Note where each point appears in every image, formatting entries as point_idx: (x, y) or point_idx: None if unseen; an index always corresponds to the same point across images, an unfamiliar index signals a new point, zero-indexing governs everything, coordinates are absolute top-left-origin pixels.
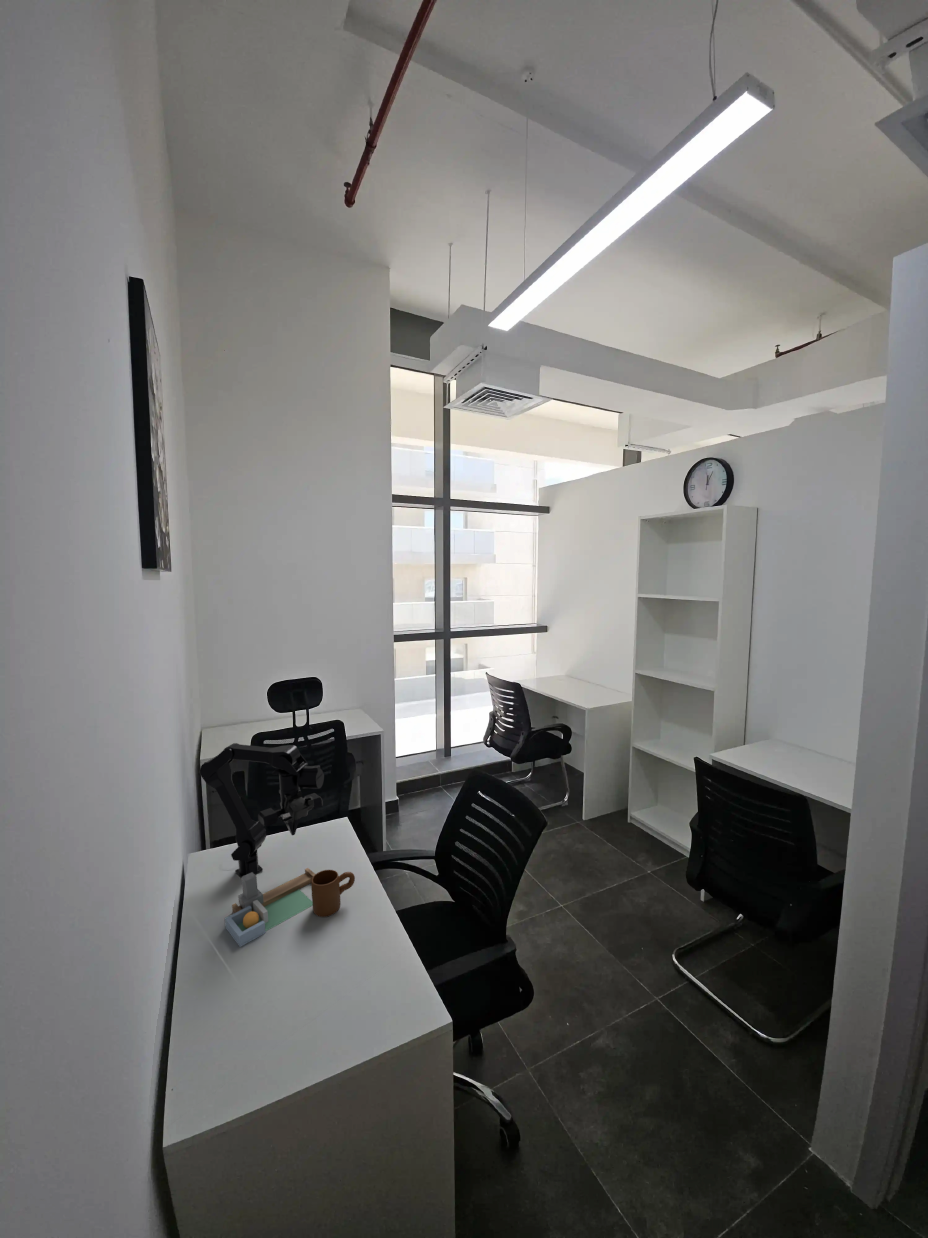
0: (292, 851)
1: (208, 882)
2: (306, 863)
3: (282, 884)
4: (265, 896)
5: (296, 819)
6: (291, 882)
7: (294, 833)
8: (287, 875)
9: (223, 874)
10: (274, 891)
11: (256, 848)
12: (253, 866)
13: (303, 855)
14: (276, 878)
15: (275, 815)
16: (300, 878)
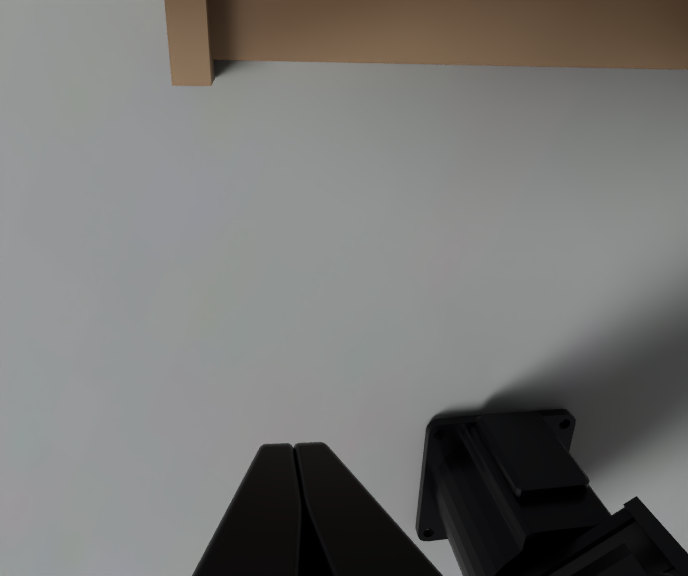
0: (145, 509)
1: (682, 515)
2: (116, 277)
3: (477, 62)
4: (672, 7)
5: None
6: (404, 16)
7: (274, 464)
8: (328, 231)
9: None
10: (585, 12)
11: (607, 572)
12: (531, 453)
13: (90, 407)
14: (410, 260)
15: None
16: (304, 3)
